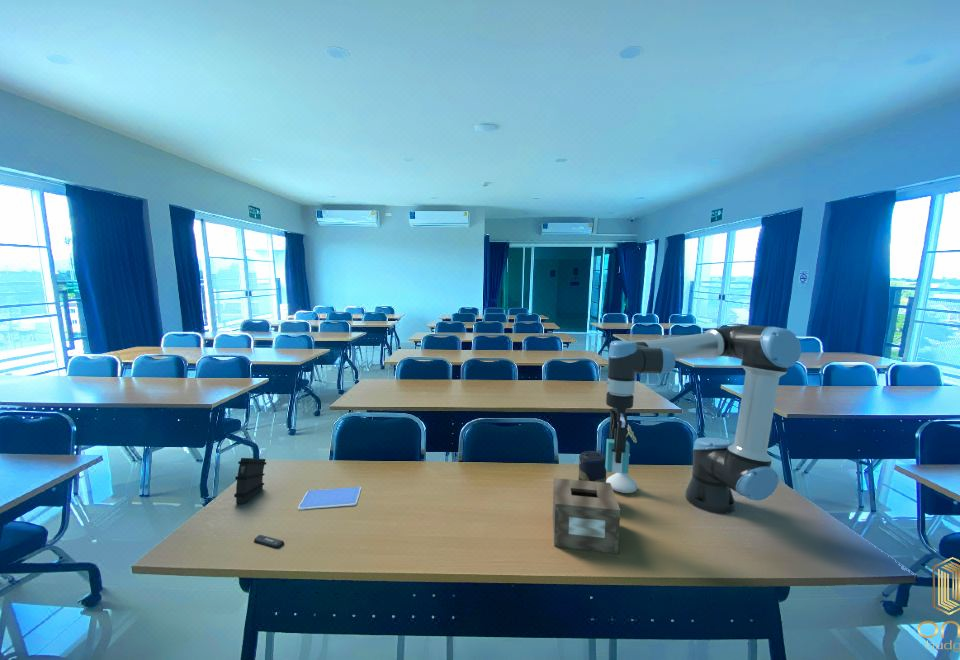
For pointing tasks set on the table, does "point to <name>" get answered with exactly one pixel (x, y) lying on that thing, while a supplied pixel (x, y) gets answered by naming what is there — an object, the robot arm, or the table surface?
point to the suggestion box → (585, 515)
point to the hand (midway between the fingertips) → (615, 469)
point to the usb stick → (269, 541)
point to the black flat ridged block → (249, 479)
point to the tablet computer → (330, 498)
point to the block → (610, 456)
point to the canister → (592, 466)
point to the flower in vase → (623, 476)
